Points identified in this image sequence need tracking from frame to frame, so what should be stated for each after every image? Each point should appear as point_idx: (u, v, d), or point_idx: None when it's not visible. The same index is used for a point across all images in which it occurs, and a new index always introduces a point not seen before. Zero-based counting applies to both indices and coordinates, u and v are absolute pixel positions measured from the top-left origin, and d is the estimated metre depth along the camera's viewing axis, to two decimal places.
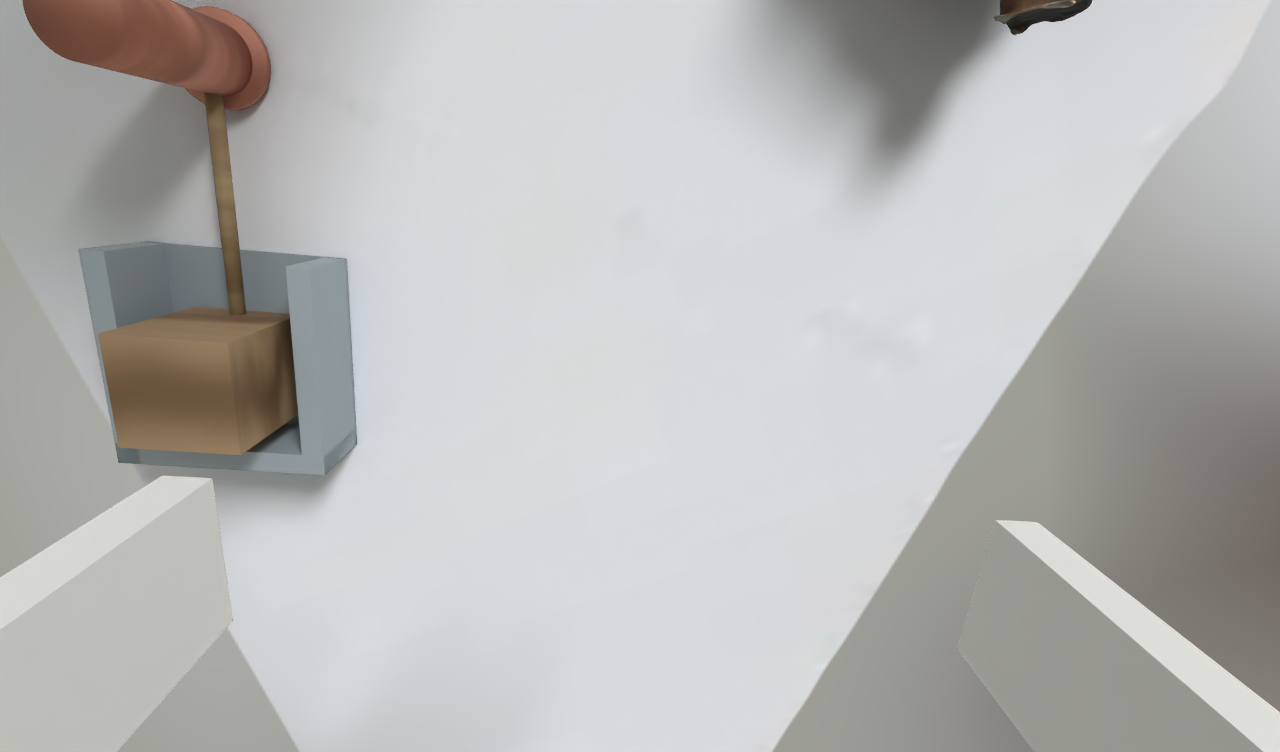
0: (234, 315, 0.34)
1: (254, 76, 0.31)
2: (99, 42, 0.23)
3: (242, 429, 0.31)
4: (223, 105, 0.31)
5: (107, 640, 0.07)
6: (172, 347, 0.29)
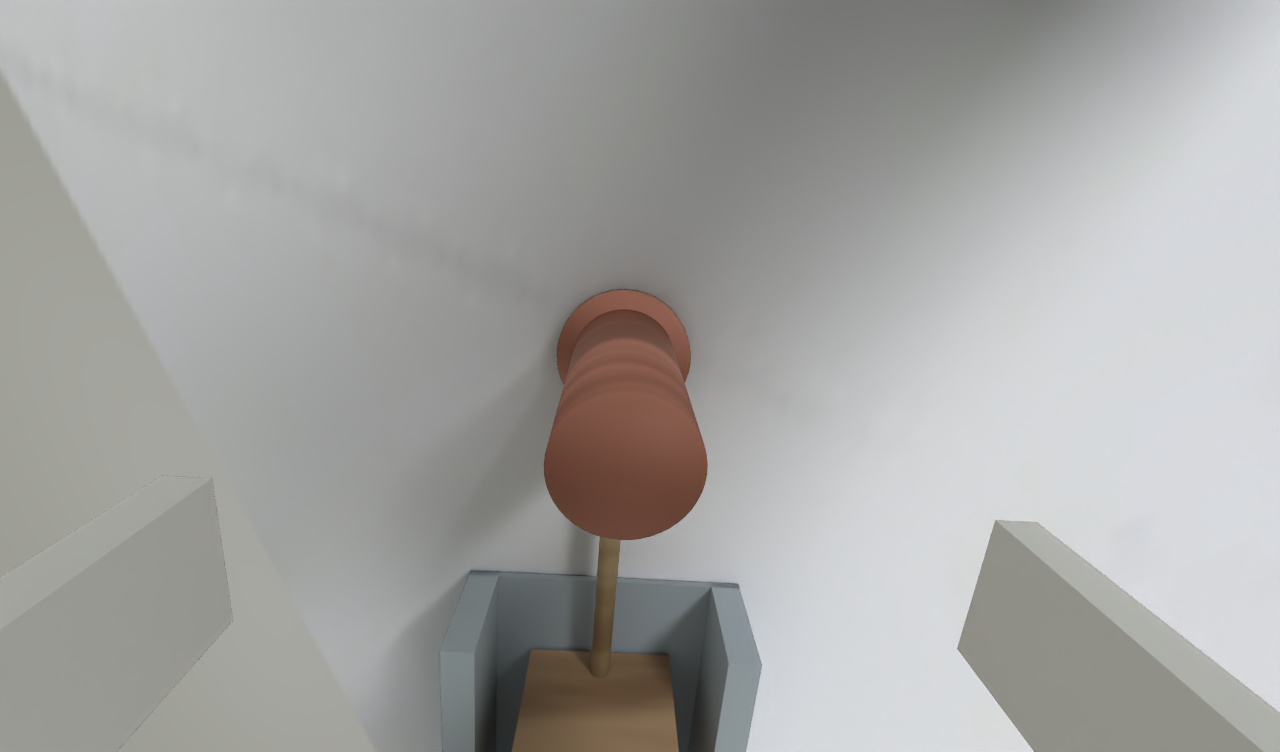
0: (601, 679, 0.24)
1: None
2: (657, 511, 0.13)
3: None
4: None
5: (107, 640, 0.07)
6: None
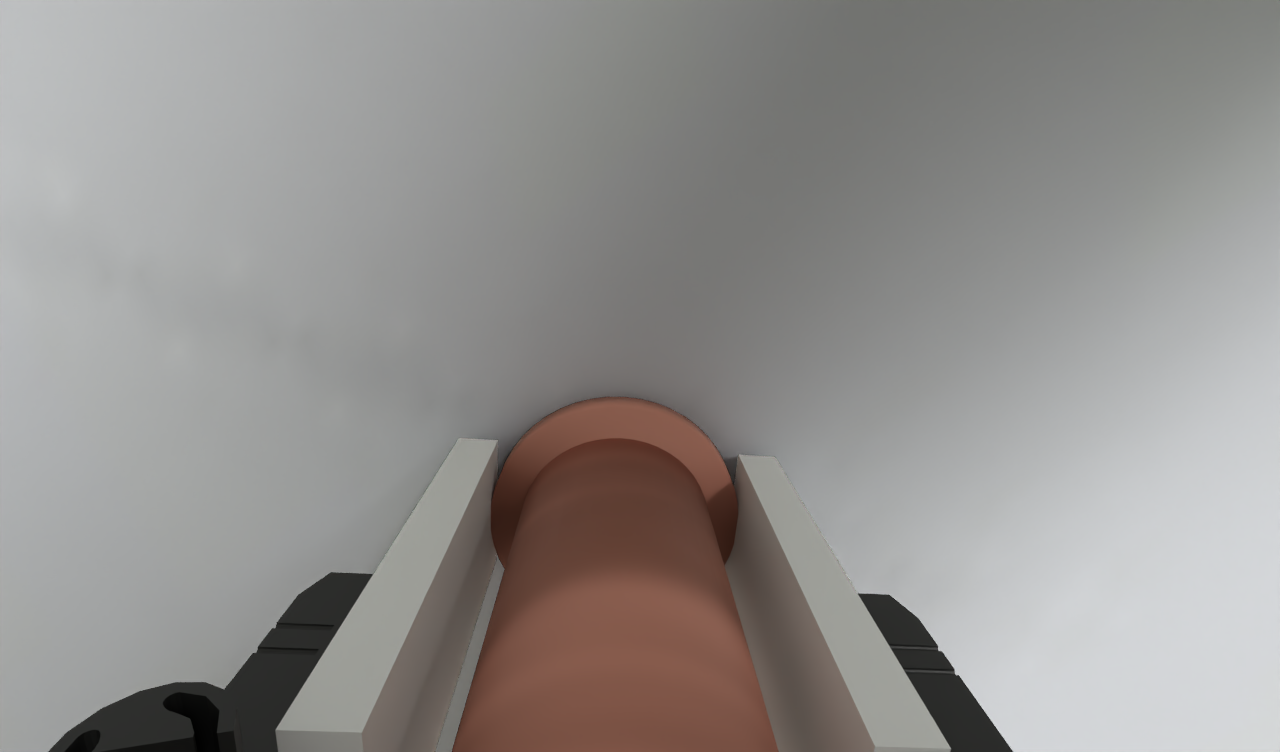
0: None
1: None
2: None
3: None
4: None
5: (471, 557, 0.10)
6: None
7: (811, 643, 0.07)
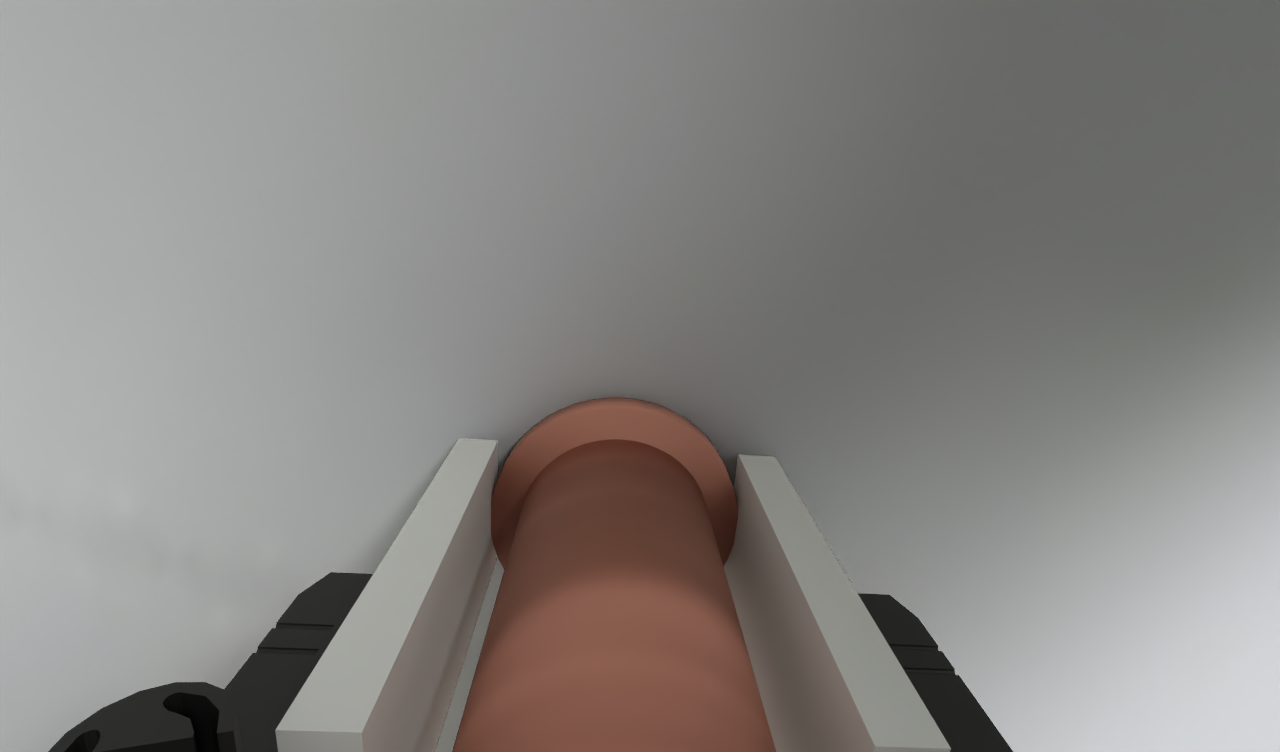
0: None
1: None
2: None
3: None
4: None
5: (471, 557, 0.10)
6: None
7: (811, 643, 0.07)
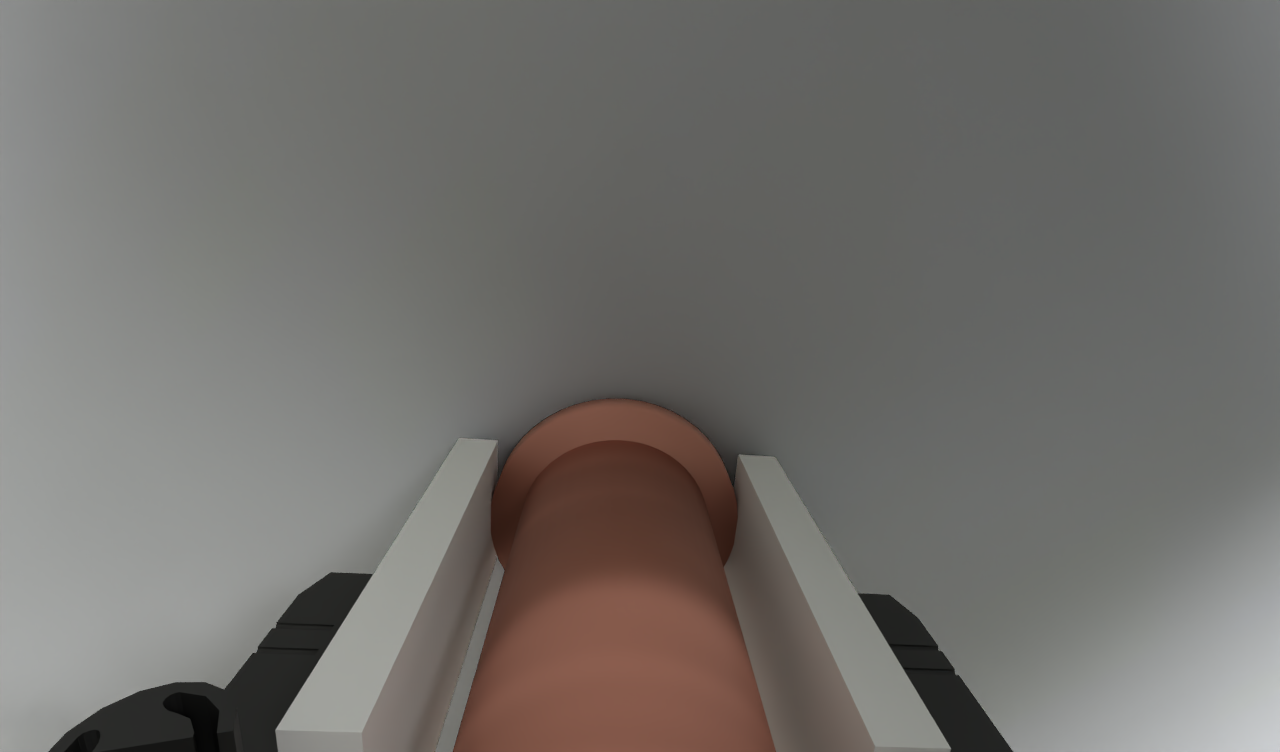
0: None
1: None
2: None
3: None
4: None
5: (471, 557, 0.10)
6: None
7: (811, 643, 0.07)
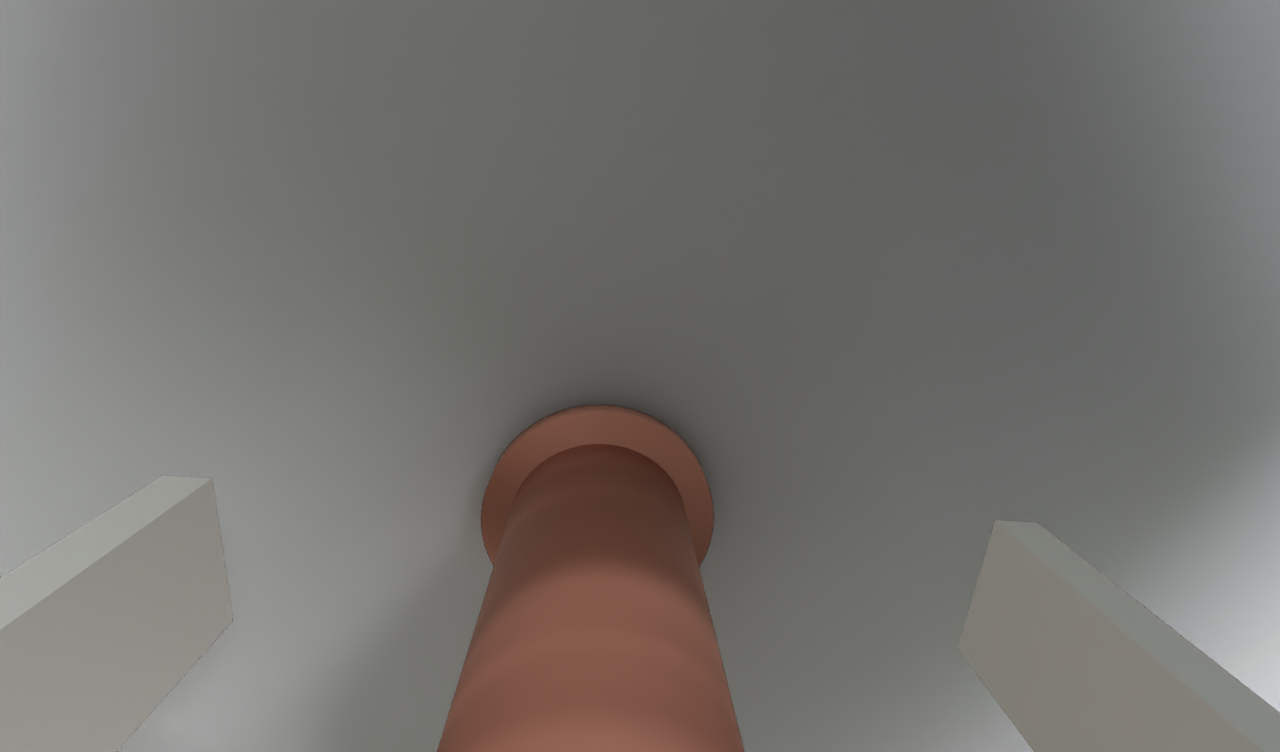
0: None
1: None
2: None
3: None
4: None
5: (107, 640, 0.07)
6: None
7: None
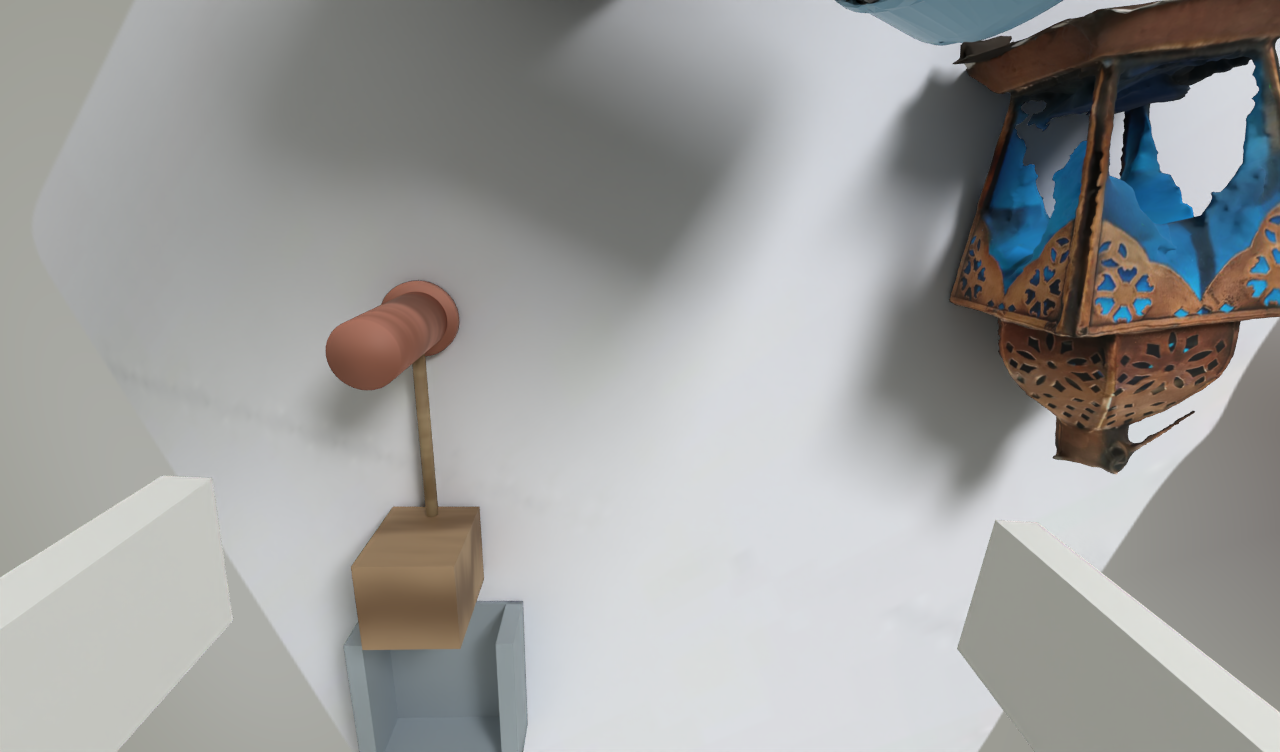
0: (431, 517, 0.40)
1: (448, 330, 0.37)
2: (381, 375, 0.29)
3: (460, 627, 0.37)
4: (424, 356, 0.38)
5: (107, 640, 0.07)
6: (410, 572, 0.35)
7: None
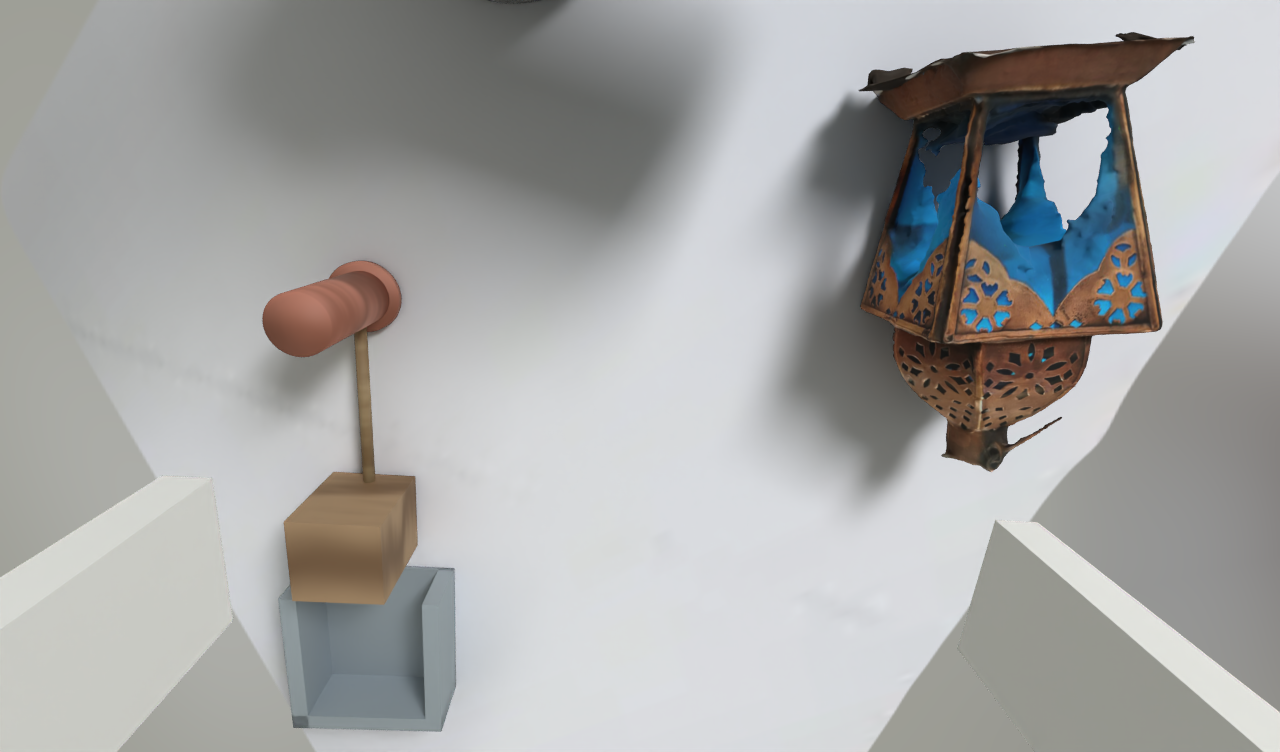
0: (367, 483, 0.43)
1: (390, 309, 0.40)
2: (313, 344, 0.32)
3: (385, 584, 0.40)
4: (366, 331, 0.40)
5: (107, 640, 0.07)
6: (339, 530, 0.38)
7: None
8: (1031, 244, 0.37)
